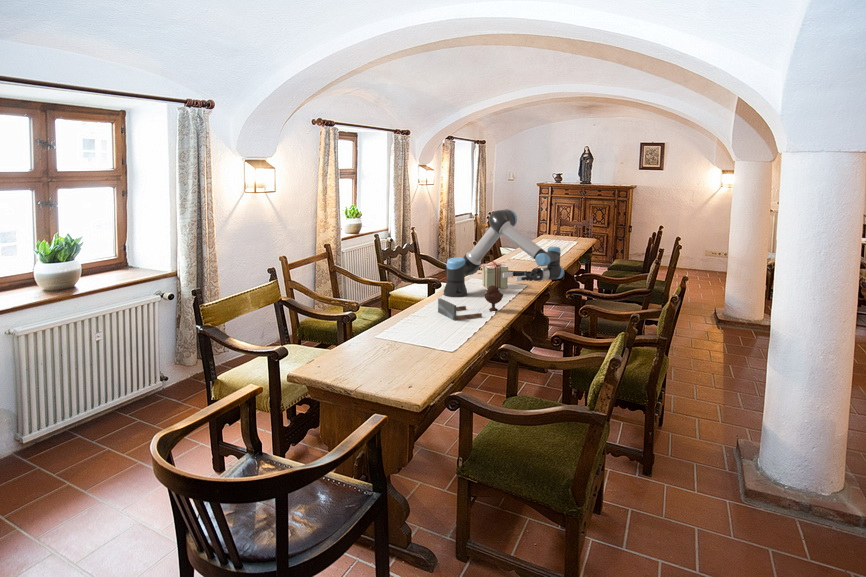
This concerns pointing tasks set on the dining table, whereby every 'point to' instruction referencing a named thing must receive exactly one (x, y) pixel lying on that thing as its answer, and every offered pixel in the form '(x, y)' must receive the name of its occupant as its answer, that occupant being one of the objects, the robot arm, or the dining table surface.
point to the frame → (453, 310)
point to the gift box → (494, 275)
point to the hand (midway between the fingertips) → (509, 277)
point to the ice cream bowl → (493, 296)
